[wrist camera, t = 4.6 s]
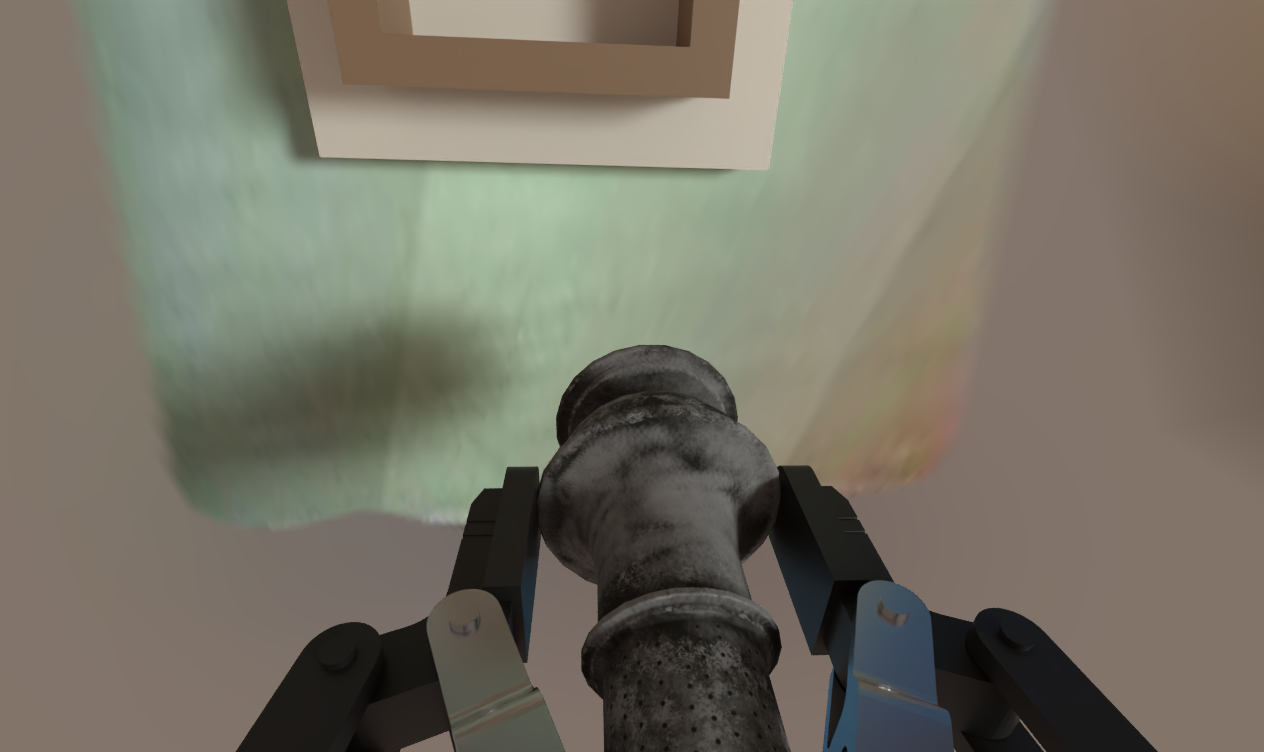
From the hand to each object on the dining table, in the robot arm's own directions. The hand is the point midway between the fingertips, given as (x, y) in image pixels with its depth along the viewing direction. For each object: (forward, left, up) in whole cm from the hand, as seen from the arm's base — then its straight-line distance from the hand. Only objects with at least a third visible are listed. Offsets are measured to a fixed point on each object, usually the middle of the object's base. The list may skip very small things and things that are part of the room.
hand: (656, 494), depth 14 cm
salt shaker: (0, 0, -3) cm, 3 cm away
